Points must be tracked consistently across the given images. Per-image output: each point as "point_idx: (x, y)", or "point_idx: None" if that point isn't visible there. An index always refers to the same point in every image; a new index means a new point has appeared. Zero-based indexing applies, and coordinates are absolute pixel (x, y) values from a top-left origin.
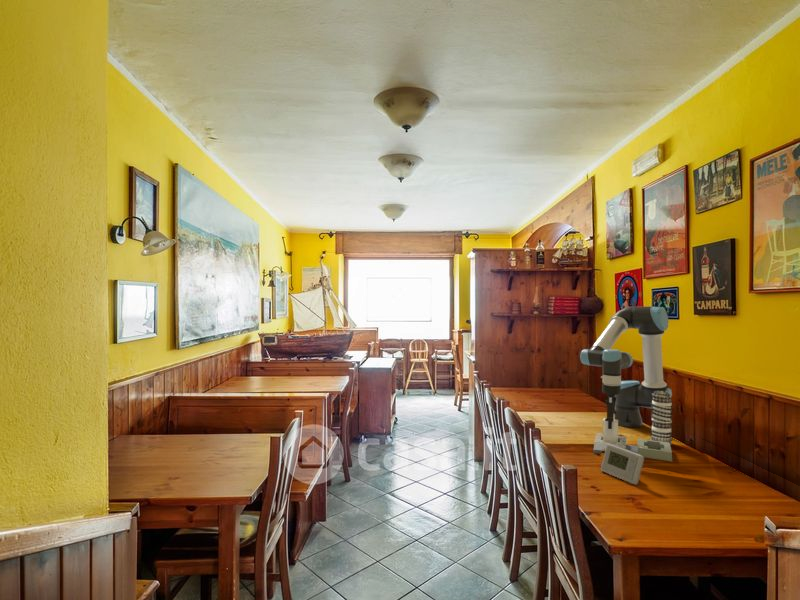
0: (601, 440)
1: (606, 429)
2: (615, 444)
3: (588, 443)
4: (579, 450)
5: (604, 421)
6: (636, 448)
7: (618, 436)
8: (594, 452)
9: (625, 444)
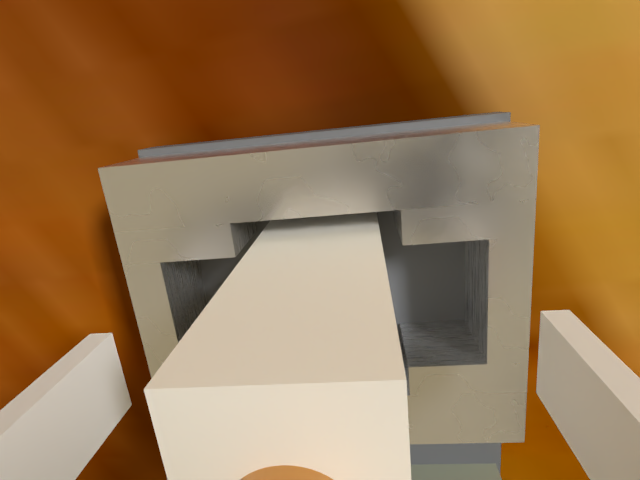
0: (202, 235)
1: (27, 387)
2: (154, 372)
3: (452, 40)
4: (143, 9)
5: (160, 403)
6: (416, 458)
7: (496, 376)
8: None
9: None
